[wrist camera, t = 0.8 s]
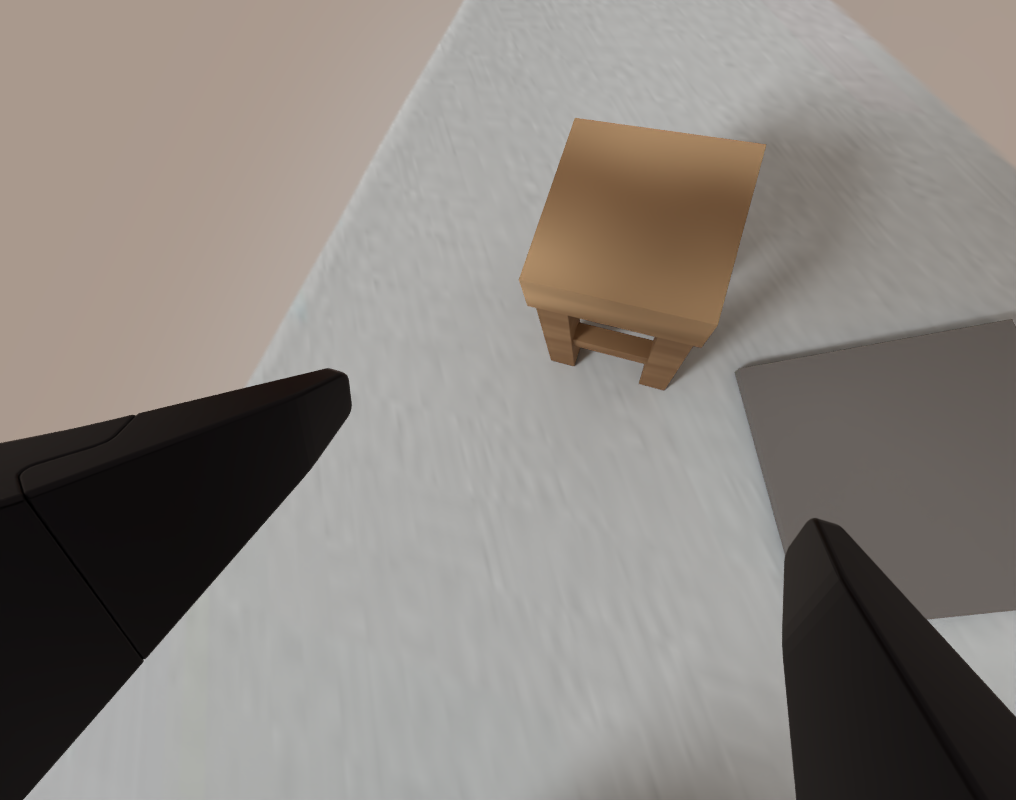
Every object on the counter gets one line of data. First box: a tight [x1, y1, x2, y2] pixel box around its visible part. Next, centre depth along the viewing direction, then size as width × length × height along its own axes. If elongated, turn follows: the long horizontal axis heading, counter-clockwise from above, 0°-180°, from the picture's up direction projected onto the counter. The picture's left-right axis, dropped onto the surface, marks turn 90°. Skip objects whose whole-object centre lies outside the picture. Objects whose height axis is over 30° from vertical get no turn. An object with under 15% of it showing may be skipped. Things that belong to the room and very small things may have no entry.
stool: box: [519, 118, 766, 390], centre depth 18 cm, size 6×6×9 cm
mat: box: [735, 319, 1016, 619], centre depth 19 cm, size 11×11×1 cm
